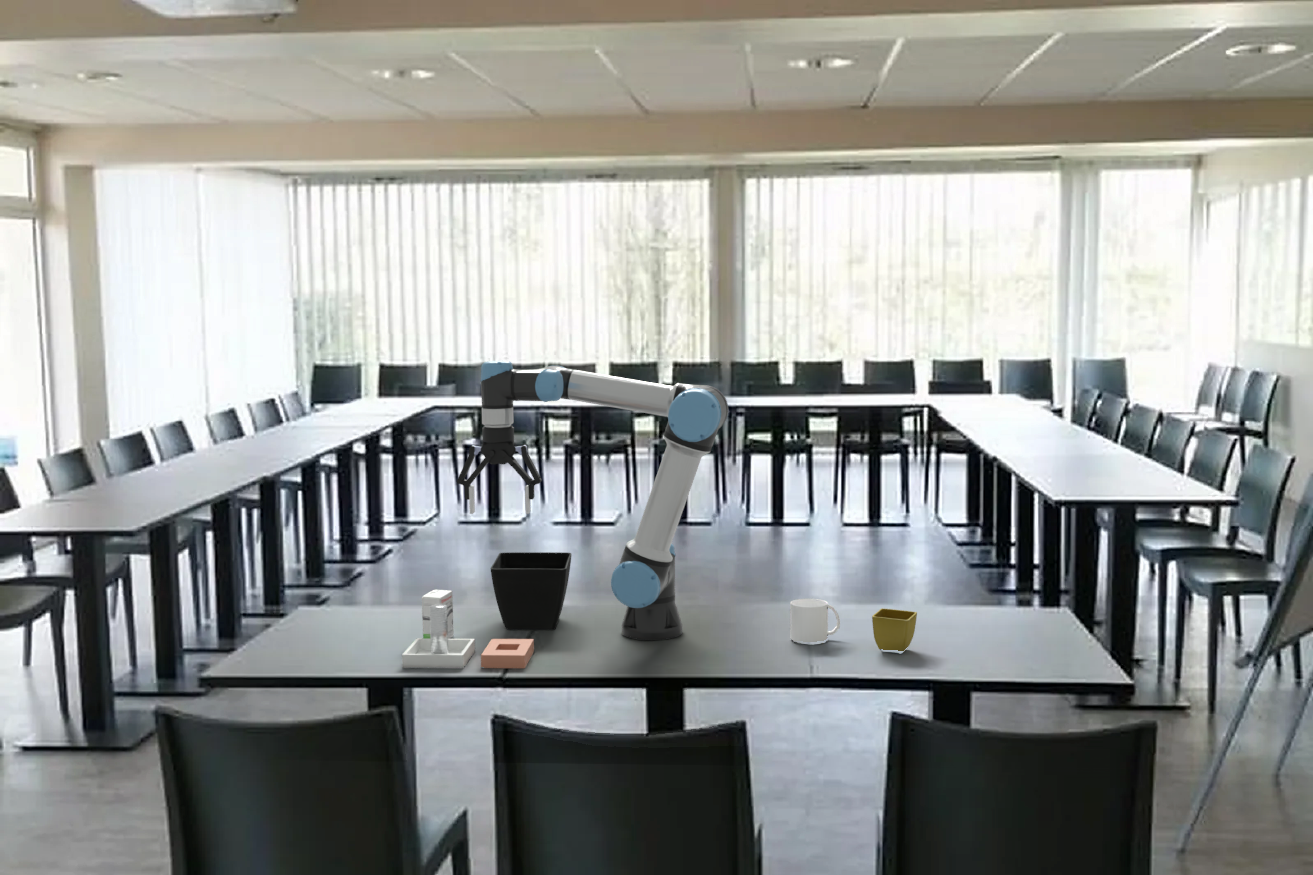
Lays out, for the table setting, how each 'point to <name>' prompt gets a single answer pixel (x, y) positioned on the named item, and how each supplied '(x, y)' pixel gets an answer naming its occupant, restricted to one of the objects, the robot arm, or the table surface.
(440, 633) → the pin
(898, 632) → the flower pot
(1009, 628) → the table surface
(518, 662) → the hitch plate
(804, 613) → the mug
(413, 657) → the tray
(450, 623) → the ink box
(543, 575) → the flower pot
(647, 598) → the robot arm
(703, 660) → the table surface
